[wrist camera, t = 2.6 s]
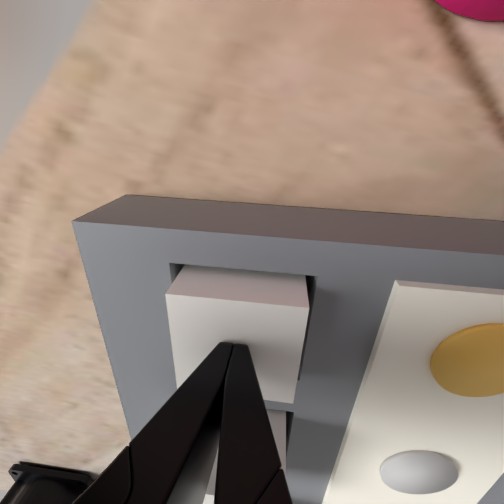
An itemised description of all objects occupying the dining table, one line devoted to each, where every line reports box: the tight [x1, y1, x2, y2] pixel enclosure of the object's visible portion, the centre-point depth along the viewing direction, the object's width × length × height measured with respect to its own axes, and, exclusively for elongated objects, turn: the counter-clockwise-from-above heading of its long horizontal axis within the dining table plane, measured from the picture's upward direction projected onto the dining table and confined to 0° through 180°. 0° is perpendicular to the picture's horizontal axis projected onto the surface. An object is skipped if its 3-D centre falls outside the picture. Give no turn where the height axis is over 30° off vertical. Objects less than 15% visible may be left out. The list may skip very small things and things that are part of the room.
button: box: [165, 264, 309, 404], centre depth 9 cm, size 4×4×3 cm
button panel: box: [72, 195, 504, 504], centre depth 13 cm, size 17×19×4 cm
